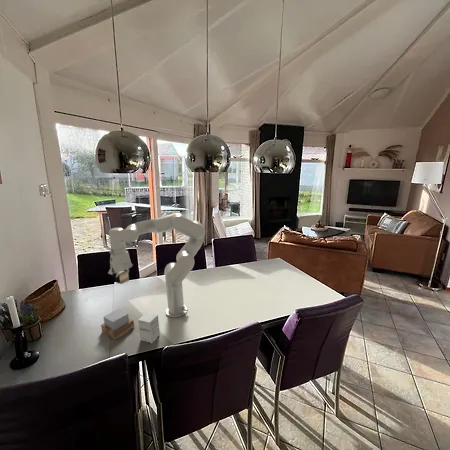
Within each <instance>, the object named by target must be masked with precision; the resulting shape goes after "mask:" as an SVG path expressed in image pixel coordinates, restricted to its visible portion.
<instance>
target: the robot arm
mask: <svg viewBox="0 0 450 450" xmlns="http://www.w3.org/2000/svg"><path fill="white" fill-rule="evenodd" d="M172 230H175V231H176V232H179V233H181V234H183V235H185V236H187V237H189V238H188V240H186V242H185V244H184V245H183V246H182V248H180V250H179V251H178V253H177V254H176V258H175V259H176V262H169V263H167V264H166V266H165V267H164V278H165V279H164V280H165V288H166V300H167V308H166V310H165V315H166V316H168V317H169V318H172V319H173V318H181V317H182V316H186V315H187V314H188V311H189V309H188V308H187V307H186V305H185V302H184V290H183V281H184V280H185V279H186V278H187V276H188V275H189V274H190V272H191V271H192V270H193V268H194V266H195V258H194V257H195V256H196V255H197V254H198V251H199V250H200V249H201V247H202V245H203V243H204V238H205V235H206V228H205V227H204V226H203V224H202V223H201V222H200V221H199V220H191V219H189V218H187V217H185V216H184V214H183V213H181V212H173V213H170V214H167V215H164V216H161V217H160V216H159V217H157V218H152V219H146V220H142V221H137V222H134V223H131V224H129V225H128V226H127V227H126V228H122V227H113V228H110V229H109V231H108V236H109V245H110V250H109V251H108V253H109V254H110V257H109V264H110V265H109V267H110V268H109V270H108V272H107V274H109V275H112V276H113V277H114V282H115V283H117V284H120V279H119V276H118V274H119V272H121V271H125V272H128V276H129V277H130V275H129V273H130V270H131V269H132V267H133V266H134V264H133V263H132V262H131V258H130V253H129V250H127V246H126V243H133V242H136V241H137V240H138V239H139V236H140V235H144V234H147V233H155V234H162V233H165V232H169V231H172Z"/></svg>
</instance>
